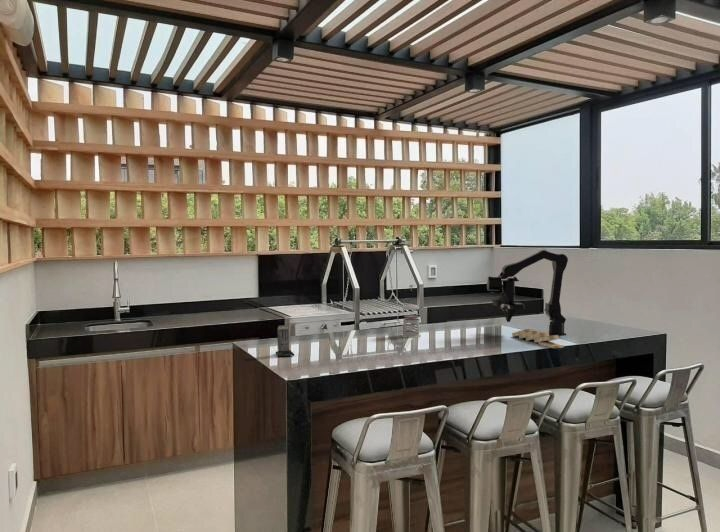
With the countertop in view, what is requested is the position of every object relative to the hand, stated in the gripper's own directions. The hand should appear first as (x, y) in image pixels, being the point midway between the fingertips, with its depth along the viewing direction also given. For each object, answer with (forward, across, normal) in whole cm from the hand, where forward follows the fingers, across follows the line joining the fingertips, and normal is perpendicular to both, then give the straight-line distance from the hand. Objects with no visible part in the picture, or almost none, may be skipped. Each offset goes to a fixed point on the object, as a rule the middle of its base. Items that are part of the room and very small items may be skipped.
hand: (508, 321), depth 273 cm
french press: (+6, -12, -48) cm, 50 cm away
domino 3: (+5, +18, 0) cm, 19 cm away
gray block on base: (+6, +11, -114) cm, 115 cm away
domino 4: (+5, +24, 0) cm, 24 cm away
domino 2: (+5, +13, 0) cm, 14 cm away
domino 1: (+5, +7, 0) cm, 9 cm away
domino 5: (+6, +27, 0) cm, 28 cm away
